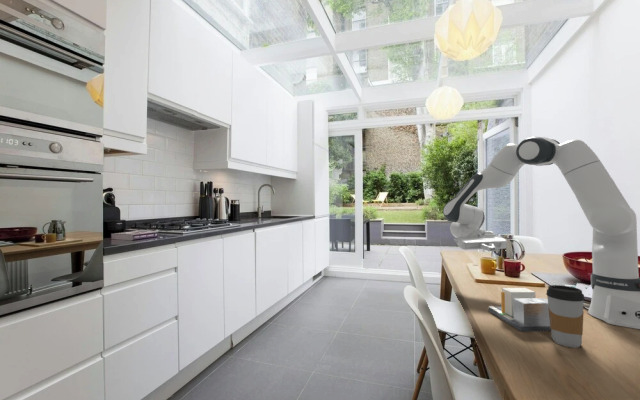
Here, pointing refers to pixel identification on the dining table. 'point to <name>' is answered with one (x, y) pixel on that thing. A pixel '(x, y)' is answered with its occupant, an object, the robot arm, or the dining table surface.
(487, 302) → the dining table surface
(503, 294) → the cream rectangular block
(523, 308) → the base
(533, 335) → the dining table surface
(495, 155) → the robot arm
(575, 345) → the coffee cup
